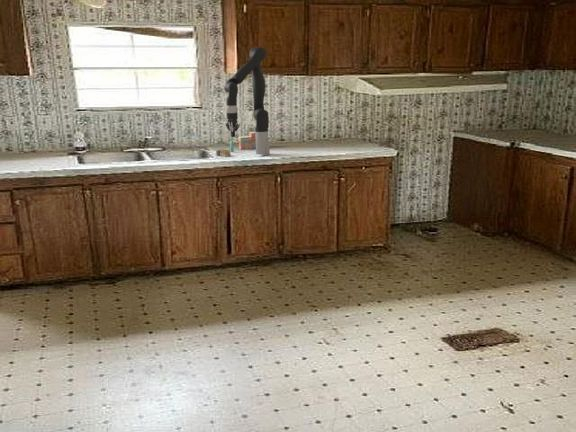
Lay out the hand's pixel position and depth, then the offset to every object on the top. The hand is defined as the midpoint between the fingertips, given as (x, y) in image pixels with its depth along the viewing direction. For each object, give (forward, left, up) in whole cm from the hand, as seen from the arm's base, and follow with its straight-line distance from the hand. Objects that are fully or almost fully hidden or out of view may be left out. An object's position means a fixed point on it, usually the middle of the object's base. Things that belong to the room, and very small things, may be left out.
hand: (233, 137), depth 388 cm
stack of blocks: (-40, -23, -16) cm, 49 cm away
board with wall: (0, -11, -16) cm, 19 cm away
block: (0, -9, -14) cm, 17 cm away
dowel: (-14, -18, -16) cm, 28 cm away
